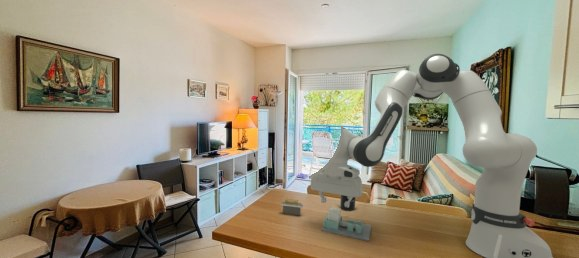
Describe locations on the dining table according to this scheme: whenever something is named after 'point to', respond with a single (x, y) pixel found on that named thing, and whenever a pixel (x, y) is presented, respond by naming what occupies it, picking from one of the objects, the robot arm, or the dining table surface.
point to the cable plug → (337, 217)
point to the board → (348, 229)
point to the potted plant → (292, 207)
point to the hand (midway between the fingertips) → (335, 204)
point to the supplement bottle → (344, 199)
